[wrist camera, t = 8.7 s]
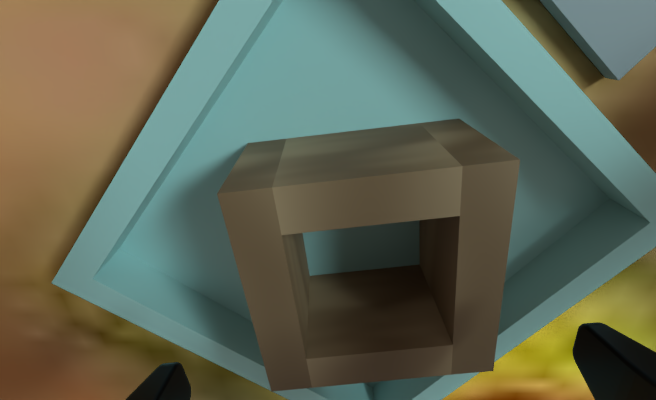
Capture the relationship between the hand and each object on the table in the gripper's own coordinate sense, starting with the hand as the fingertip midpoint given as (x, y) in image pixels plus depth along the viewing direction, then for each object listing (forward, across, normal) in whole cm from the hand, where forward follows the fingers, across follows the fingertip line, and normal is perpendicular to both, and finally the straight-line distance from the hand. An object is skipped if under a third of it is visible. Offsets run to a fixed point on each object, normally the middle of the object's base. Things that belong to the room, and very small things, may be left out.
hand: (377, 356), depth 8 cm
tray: (+6, 0, 0) cm, 7 cm away
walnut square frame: (+6, 0, 0) cm, 6 cm away
